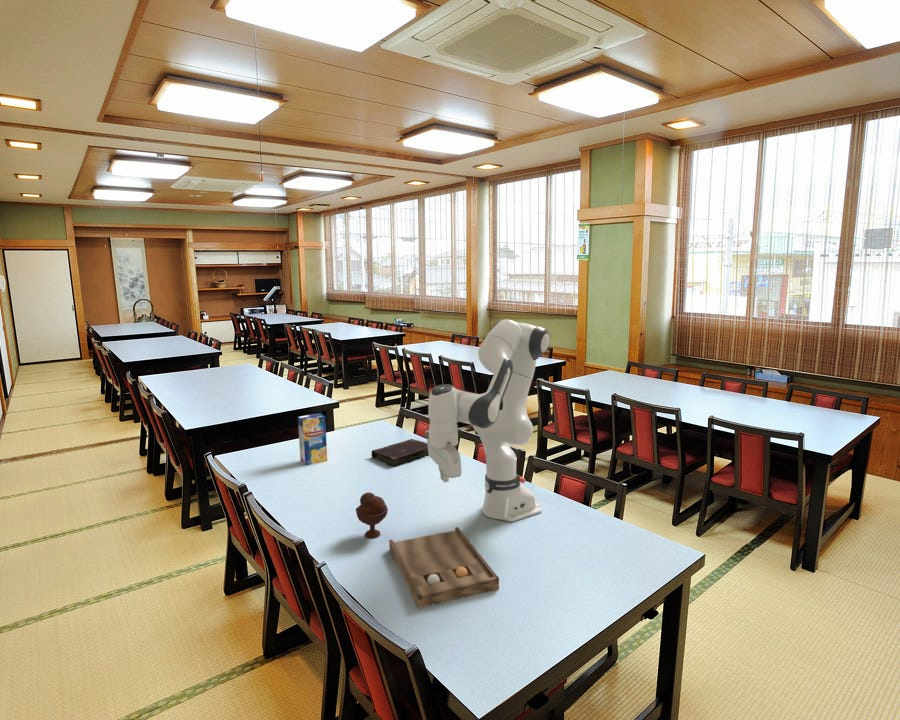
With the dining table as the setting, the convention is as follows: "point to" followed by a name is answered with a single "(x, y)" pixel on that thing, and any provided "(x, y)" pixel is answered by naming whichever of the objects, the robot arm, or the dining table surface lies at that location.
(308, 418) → the beverage box
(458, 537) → the wooden tray
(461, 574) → the ball orange
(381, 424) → the dining table surface
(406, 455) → the diary
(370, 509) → the ice cream bowl
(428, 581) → the ball grey
